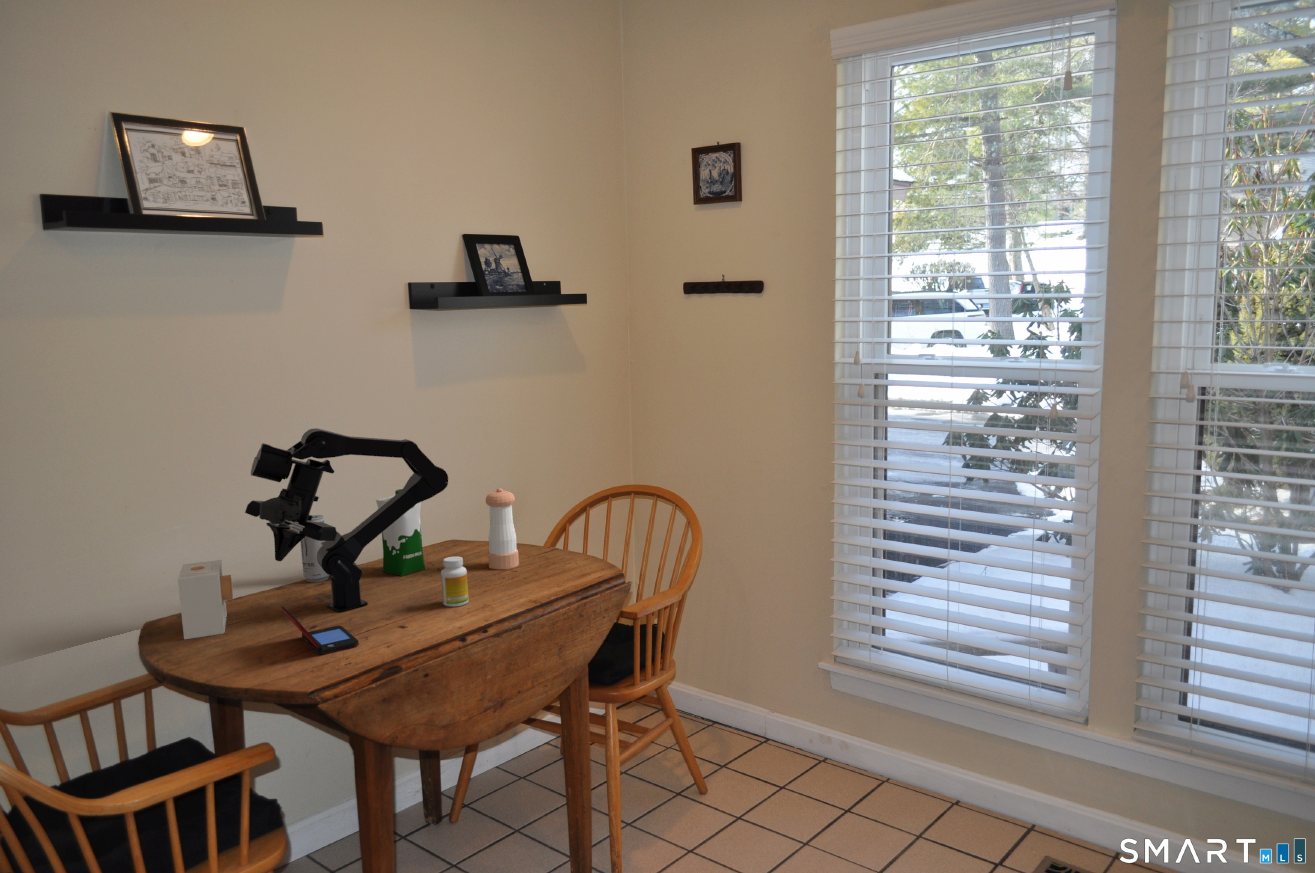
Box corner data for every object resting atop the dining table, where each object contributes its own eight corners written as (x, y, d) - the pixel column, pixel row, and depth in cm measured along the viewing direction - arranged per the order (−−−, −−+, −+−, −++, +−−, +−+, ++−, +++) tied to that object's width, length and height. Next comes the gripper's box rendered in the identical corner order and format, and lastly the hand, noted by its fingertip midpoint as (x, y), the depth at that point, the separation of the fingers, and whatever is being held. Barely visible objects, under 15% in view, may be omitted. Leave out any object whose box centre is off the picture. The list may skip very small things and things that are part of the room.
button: (233, 595, 182) (230, 572, 181) (232, 602, 178) (229, 578, 177) (211, 598, 181) (208, 574, 180) (209, 605, 176) (207, 581, 175)
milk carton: (401, 577, 209) (395, 494, 206) (377, 572, 214) (370, 491, 212) (430, 568, 216) (424, 487, 213) (406, 563, 221) (400, 484, 219)
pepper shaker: (516, 569, 213) (511, 490, 210) (486, 570, 213) (481, 491, 211) (521, 560, 220) (517, 485, 218) (492, 561, 220) (487, 485, 218)
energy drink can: (299, 580, 210) (293, 518, 208) (323, 574, 214) (318, 513, 212) (311, 584, 206) (306, 521, 204) (335, 578, 210) (330, 516, 208)
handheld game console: (361, 647, 165) (357, 608, 164) (300, 662, 159) (296, 622, 158) (341, 629, 175) (338, 593, 174) (283, 642, 169) (280, 604, 168)
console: (226, 615, 185) (221, 558, 184) (224, 633, 174) (218, 572, 173) (189, 621, 183) (183, 562, 181) (184, 639, 172) (177, 577, 170)
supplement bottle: (473, 602, 189) (471, 557, 187) (452, 608, 185) (449, 563, 184) (459, 597, 192) (456, 553, 191) (437, 603, 188) (434, 559, 187)
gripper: (239, 471, 177) (213, 546, 176) (315, 500, 172) (289, 577, 172) (275, 475, 188) (252, 546, 187) (348, 502, 183) (324, 575, 182)
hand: (278, 560), depth 182 cm, fingers closed
